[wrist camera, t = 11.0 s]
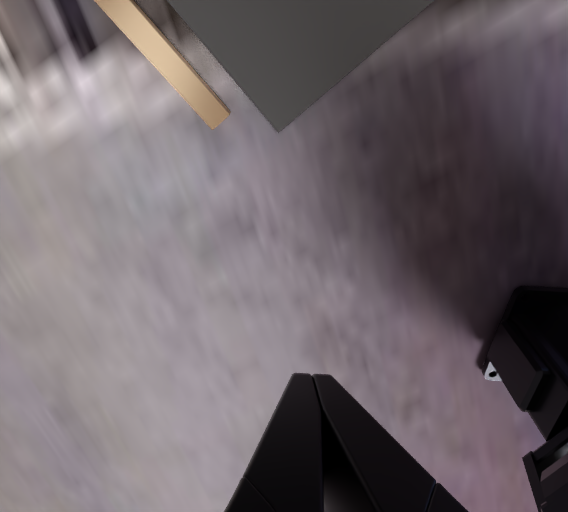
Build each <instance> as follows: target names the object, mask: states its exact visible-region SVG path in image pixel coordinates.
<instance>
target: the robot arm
mask: <svg viewBox="0 0 568 512" xmlns="http://www.w3.org/2000/svg"><path fill="white" fill-rule="evenodd" d="M524 294H526V295H525V296H524V297H522V295H524ZM492 371H493V372H492ZM482 373H483V375H484V377H485V378H486V379H487V380H492V381H503V383H504V385H505V386H506V388H507V390H508V391H509V393H510V394H511V396H512V398H513V399H514V401H515V402H516V404H517V406H518V407H519V408H520V410H521V411H523V412H528V413H529V415H530V416H531V418H532V419H533V421H534V423H535V424H536V426H537V427H538V429H539V430H540V432H541V434H542V435H543V437H544V438H545V440H546V441H547V442H546V443H544V444H543V445H542V446H540V447H539V448H538V449H536V450H535V451H534V452H532V451H530V452H529V453H528V454H526V455H525V456H524V457H523V458H522V459H523V462H524V465H525V469H526V472H527V475H528V479H529V482H530V485H531V488H532V492H533V495H534V498H535V502H536V505H537V508H538V512H568V289H567V288H550V287H534V286H521V287H519V288H517V289H516V290H515V291H514V292H513V294H512V297H511V299H510V302H509V304H508V307H507V309H506V311H505V314H504V316H503V319H502V321H501V323H500V324H499V327H498V329H497V332H496V334H495V337H494V339H493V341H492V344H491V346H490V349H489V351H488V354H487V358H486V361H485V363H484V365H483V368H482ZM224 512H468V511H467V510H466V509H465V508H464V507H463V506H462V505H461V504H460V503H459V502H458V501H457V500H456V499H455V498H454V497H453V496H452V495H451V494H450V493H449V492H448V491H447V490H446V489H445V488H444V487H443V486H442V485H441V484H440V483H436V480H435V479H434V478H433V477H432V476H431V475H430V474H429V473H428V472H427V471H426V470H425V469H424V468H423V467H422V466H421V465H420V464H419V463H418V462H417V461H416V460H415V459H414V458H413V457H412V456H411V455H410V454H409V453H408V452H407V451H406V450H405V449H404V448H403V447H402V446H401V445H400V444H399V443H398V442H397V441H396V440H395V439H394V438H393V437H392V436H391V435H390V434H389V433H388V432H387V431H386V430H385V429H384V428H383V427H382V426H381V425H380V424H379V423H378V422H377V421H376V420H375V419H374V418H373V417H372V416H371V415H370V414H369V413H368V412H367V411H366V410H365V409H364V408H363V407H362V406H361V405H360V404H359V403H358V402H357V401H356V400H355V399H354V398H353V397H352V396H351V395H350V394H349V393H348V392H347V391H346V390H345V389H344V388H343V387H342V386H341V385H340V384H339V383H338V382H337V381H336V380H335V379H334V378H333V377H332V376H331V375H329V374H313V375H312V376H311V375H310V374H308V373H294V374H292V376H291V378H290V380H289V382H288V384H287V386H286V388H285V390H284V392H283V395H282V397H281V399H280V401H279V403H278V405H277V407H276V409H275V411H274V413H273V415H272V417H271V419H270V421H269V423H268V425H267V427H266V430H265V432H264V434H263V436H262V438H261V440H260V442H259V444H258V446H257V448H256V450H255V452H254V454H253V456H252V458H251V460H250V462H249V465H248V467H247V469H246V471H245V473H244V475H243V478H241V480H240V482H239V484H238V486H237V488H236V490H235V492H234V494H233V496H232V498H231V500H230V502H229V504H228V505H227V507H226V509H225V511H224Z"/></svg>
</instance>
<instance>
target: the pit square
mask: <svg viewBox="0 0 568 512" xmlns="http://www.w3.org/2000/svg"><path fill="white" fill-rule="evenodd" d="M167 1H168V2H169V3H170V4H171V6H172V7H173V8H174V9H175V10H176V12H177V13H178V14H179V15H180V16H181V18H182V19H183V20H184V21H185V22H186V24H187V25H188V26H189V27H190V28H191V29H192V31H193V32H194V33H195V34H196V35H197V37H198V38H199V39H200V40H201V41H202V43H203V44H204V45H205V46H206V47H207V49H208V50H209V51H210V52H211V53H212V54H213V56H214V57H215V58H216V59H217V60H218V62H219V63H220V64H221V65H222V66H223V68H224V69H225V70H226V71H227V72H228V74H229V75H230V76H231V77H232V78H233V79H234V81H235V82H236V83H237V84H238V85H239V87H240V88H241V89H242V90H243V91H244V93H245V94H246V95H247V96H248V97H249V99H250V100H251V101H252V102H253V103H254V104H255V106H256V107H257V108H258V109H259V110H260V112H261V113H262V114H263V115H264V116H265V118H266V119H267V120H268V121H269V122H270V124H271V125H272V126H273V127H274V128H275V129H276V131H277V132H278V133H279V132H280V131H281V130H282V129H284V128H285V127H286V126H287V125H288V124H289V123H291V122H292V121H293V120H294V119H295V118H296V117H298V116H299V115H300V114H301V113H302V112H304V111H305V110H306V109H307V108H308V107H309V106H311V105H312V104H313V103H314V102H315V101H316V100H318V99H319V98H320V97H321V96H322V95H324V94H325V93H326V92H327V91H328V90H329V89H331V88H332V87H333V86H334V85H335V84H336V83H338V82H339V81H340V80H341V79H342V78H344V77H345V76H346V75H347V74H348V73H349V72H351V71H352V70H353V69H354V68H355V67H356V66H358V65H359V64H360V63H361V62H362V61H363V60H365V59H366V58H367V57H368V56H369V55H371V54H372V53H373V52H374V51H375V50H376V49H378V48H379V47H380V46H381V45H382V44H383V43H385V42H386V41H387V40H388V39H389V38H391V37H392V36H393V35H394V34H395V33H396V32H398V31H399V30H400V29H401V28H402V27H403V26H405V25H406V24H407V23H408V22H409V21H411V20H412V19H413V18H414V17H415V16H416V15H418V14H419V13H420V12H421V11H422V10H423V9H425V8H426V7H427V6H428V5H429V4H431V3H432V2H433V1H434V0H167Z"/></svg>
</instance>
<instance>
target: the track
mask: <svg viewBox="0 0 568 512" xmlns="http://www.w3.org/2000/svg"><path fill="white" fill-rule="evenodd" d="M94 1H95V2H96V3H97V4H98V5H99V6H100V7H101V9H102V10H103V11H104V12H105V13H106V14H107V15H108V16H109V17H110V18H111V19H112V21H113V22H114V23H115V24H116V25H117V26H118V27H119V28H120V29H121V30H122V32H123V33H124V34H125V35H126V36H127V37H128V38H129V39H130V40H131V41H132V43H133V44H134V45H135V46H136V47H137V48H138V49H139V50H140V51H141V52H142V53H143V55H144V56H145V57H146V58H147V59H148V60H149V61H150V62H151V63H152V64H153V66H154V67H155V68H156V69H157V70H158V71H159V72H160V73H161V74H162V75H163V76H164V78H165V79H166V80H167V81H168V82H169V83H170V84H171V85H172V86H173V87H174V89H175V90H176V91H177V92H178V93H179V94H180V95H181V96H182V97H183V98H184V100H185V101H186V102H187V103H188V104H189V105H190V106H191V107H192V108H193V109H194V110H195V112H196V113H197V114H198V115H199V116H200V117H201V118H202V119H203V120H204V121H205V123H206V124H207V125H208V126H209V127H210V128H211V129H212V130H213V129H215V128H216V127H217V126H218V125H219V124H220V123H221V122H222V121H223V120H224V119H226V118H227V117H228V116H229V115H230V113H231V111H230V110H229V109H228V108H227V107H226V106H225V105H224V103H223V102H222V101H221V100H220V99H219V98H218V97H217V95H216V94H215V93H214V92H213V91H212V90H211V89H210V87H209V86H208V85H207V84H206V83H205V82H204V81H203V79H202V78H201V77H200V76H199V75H198V74H197V73H196V71H195V70H194V69H193V68H192V67H191V66H190V65H189V63H188V62H187V61H186V60H185V59H184V58H183V57H182V55H181V54H180V53H179V52H178V51H177V50H176V48H175V47H174V46H173V45H172V44H171V43H170V42H169V40H168V39H167V38H166V37H165V36H164V35H163V34H162V32H161V31H160V30H159V29H158V28H157V27H156V26H155V24H154V23H153V22H152V21H151V20H150V19H149V18H148V16H147V15H146V14H145V13H144V12H143V11H142V10H141V8H140V7H139V6H138V5H137V4H136V3H135V2H134V0H94Z"/></svg>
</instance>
